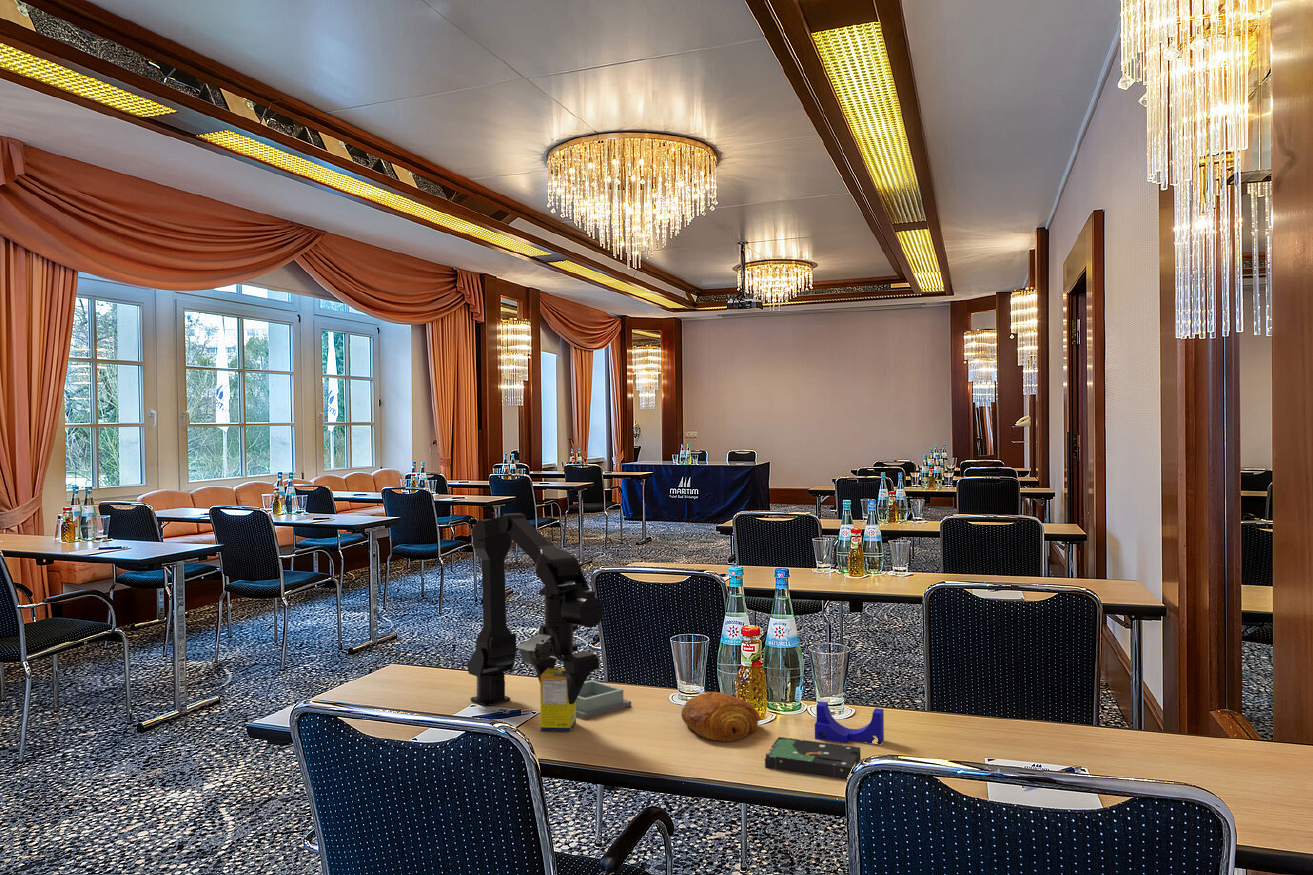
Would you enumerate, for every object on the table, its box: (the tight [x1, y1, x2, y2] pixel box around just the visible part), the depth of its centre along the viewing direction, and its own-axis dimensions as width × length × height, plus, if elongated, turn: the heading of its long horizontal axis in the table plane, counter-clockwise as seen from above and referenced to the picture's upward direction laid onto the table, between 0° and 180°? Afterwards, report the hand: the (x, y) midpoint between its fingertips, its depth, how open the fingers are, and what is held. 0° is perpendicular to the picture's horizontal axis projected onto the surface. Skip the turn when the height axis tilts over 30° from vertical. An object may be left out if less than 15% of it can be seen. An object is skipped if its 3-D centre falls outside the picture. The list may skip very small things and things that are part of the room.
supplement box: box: [539, 667, 577, 732], centre depth 160 cm, size 6×6×11 cm
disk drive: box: [764, 736, 862, 781], centre depth 141 cm, size 10×3×15 cm
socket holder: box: [576, 679, 632, 720], centre depth 174 cm, size 13×13×4 cm
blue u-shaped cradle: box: [814, 701, 885, 744], centre depth 153 cm, size 12×4×6 cm, turn 65°
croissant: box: [680, 691, 761, 742], centre depth 159 cm, size 14×16×8 cm
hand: (558, 699), depth 160 cm, fingers open, 8 cm apart
